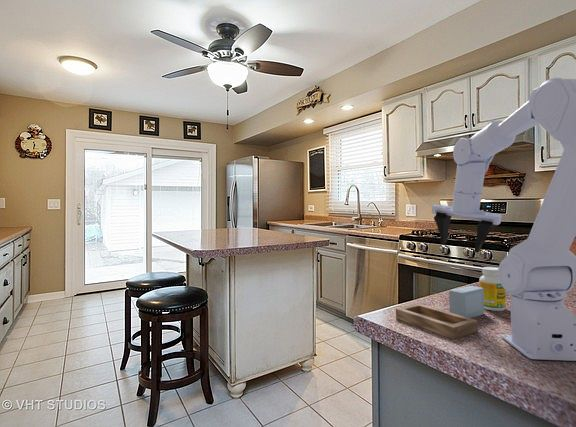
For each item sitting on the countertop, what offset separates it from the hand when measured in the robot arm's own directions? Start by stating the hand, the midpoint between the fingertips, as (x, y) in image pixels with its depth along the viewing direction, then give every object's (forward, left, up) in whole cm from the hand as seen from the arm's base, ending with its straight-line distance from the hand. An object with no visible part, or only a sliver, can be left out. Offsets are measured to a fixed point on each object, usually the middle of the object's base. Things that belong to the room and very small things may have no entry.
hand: (460, 246), depth 79 cm
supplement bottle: (+1, -7, -15) cm, 17 cm away
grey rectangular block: (-5, +1, -15) cm, 16 cm away
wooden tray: (-12, +10, -15) cm, 21 cm away
